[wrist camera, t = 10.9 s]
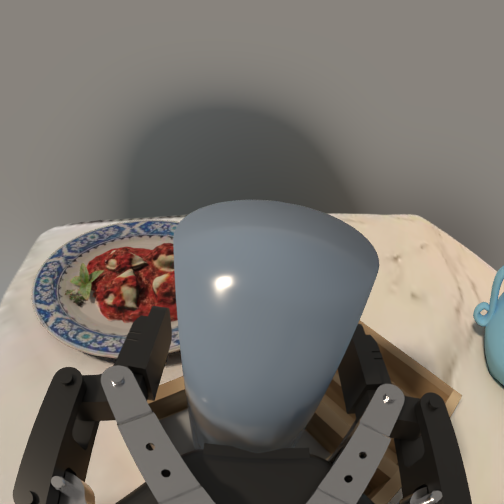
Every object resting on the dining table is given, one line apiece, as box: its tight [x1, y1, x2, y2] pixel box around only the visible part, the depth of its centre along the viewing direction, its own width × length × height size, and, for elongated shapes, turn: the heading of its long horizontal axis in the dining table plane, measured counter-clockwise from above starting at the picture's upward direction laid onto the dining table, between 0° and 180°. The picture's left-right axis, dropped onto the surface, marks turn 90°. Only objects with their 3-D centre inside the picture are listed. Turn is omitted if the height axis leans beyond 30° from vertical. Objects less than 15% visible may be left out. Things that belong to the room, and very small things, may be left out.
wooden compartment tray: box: [147, 320, 462, 504], centre depth 17 cm, size 20×15×4 cm
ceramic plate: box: [32, 220, 180, 358], centre depth 32 cm, size 26×26×3 cm
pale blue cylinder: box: [173, 200, 379, 453], centre depth 12 cm, size 6×6×15 cm
